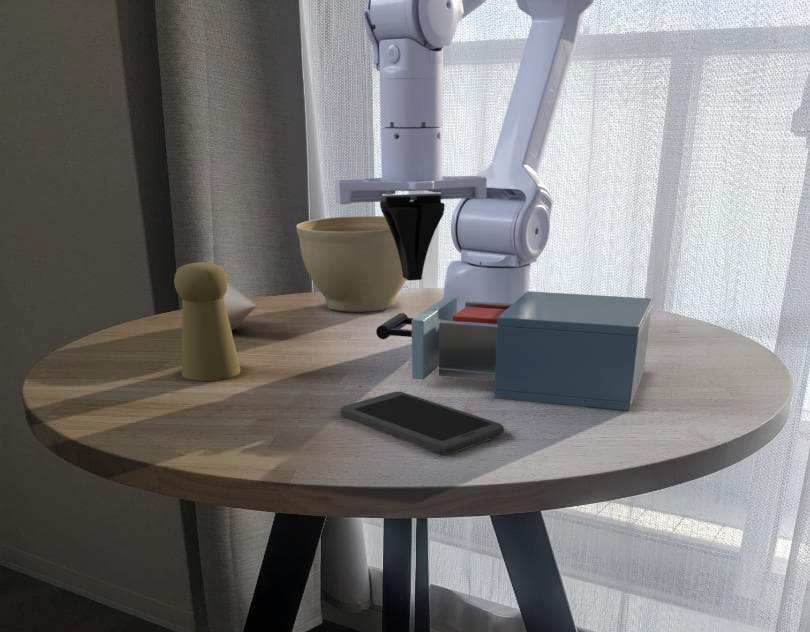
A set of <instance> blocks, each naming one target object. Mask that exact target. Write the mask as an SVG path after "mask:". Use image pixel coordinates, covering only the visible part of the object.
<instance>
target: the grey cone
mask: <svg viewBox="0 0 810 632" xmlns="http://www.w3.org/2000/svg"><path fill="white" fill-rule="evenodd" d="M224 301H225V305H226V310H227V314H228V318H229V323H230V327H231V331H233V330H235V329H236V328H238V327H239V325H240V324H241V323H243V321H244V320H245V319H246V318H247V317H248V316H249V315H250V314H251V313H252V312H253V310H254V309H256V308H257V304H255V302H253V301H252V300H251V299H250V298H249V297H248V296H246V295H245V293H243V292H242V291H241V290H240V289H238V288H237V287H236V286H235V285H234V284H232V283H231V282H229V281H228V286H227V291H226V293H225V295H224Z"/></svg>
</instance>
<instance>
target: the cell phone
mask: <svg viewBox="0 0 810 632" xmlns="http://www.w3.org/2000/svg"><path fill="white" fill-rule="evenodd" d="M339 411H340V416H342V417H343V418H345V419H347V420H351V421H353V422H356V423H358V424H361V425H364V426H366V427H369V428H371V429H374V430H377V431H379V432H383V433H385V434H387V435H390V436H393V437H396V438H398V439H401V440H403V441H406V442H409V443H411V444H414V445H416V446H419V447H422V448H425V449H427V450H430V451H433V452H435V453H438V454H452V453H455V452H459V451H461V450H463V449H466V448H469V447H472V446H474V445H475V446H476V445H478V444H481V443H485V442H486V441H489V440H493V439H495V438H497V437H500V436H502V435H503V434H504V432H505V427H504V425H503V424H501V423H500V422H497V421H493V420H491V419H487V418H485V417H481V416H478V415H475V414H472V413H469V412H465V411H463V410H459V409H457V408H454V407H451V406H447V405H445V404H441V403H437V402H435V401H432V400H428V399H426V398H422V397H419V396H416V395H413V394H410V393H407V392H404V391H392V392H388V393H385V394H384V393H383V394H381V395H378V396H374V397H371V398H367V399H364V400H360V401H357V402H353V403H348V404H346V405H342V406H341V407H340V408H339Z"/></svg>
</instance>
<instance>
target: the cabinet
mask: <svg viewBox="0 0 810 632" xmlns="http://www.w3.org/2000/svg"><path fill="white" fill-rule="evenodd" d="M652 305H653V298H648V297H632V296H618V295H617V296H615V295H601V294H600V295H599V294H597V295H596V294H583V293H582V294H581V293H566V292H565V293H564V292H547V291H530V290H529V291H527V292H526V293H525V294H524V295H522V296H521V297H520V298H519V299H518V300H517V301H516V302H515V303H513V304H512V305H511V306H510V307H509V308H508V309H507V310H506V311H504V312H503V313H502V314H501V315H500V316H499V317H498V318H497V341H496V367H495V381H494V399H495V398H496V399H505V400H515V401H516V400H517V401H525V402H535V403H547V404H558V405H566V406H567V405H568V406H577V407H587V408H598V409H607V410H619V411H630V410H631V407H632V405H633V403H634V399H635V397H636V394H637V391H638V389H639V386H640V384H641V381H642V378H643V376H644V373H645V364H646V357H647V347H648V339H649V330H650V322H651V313H652Z"/></svg>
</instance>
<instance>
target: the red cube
mask: <svg viewBox="0 0 810 632" xmlns="http://www.w3.org/2000/svg"><path fill="white" fill-rule="evenodd" d="M506 310H507V309H493V308H477V307H465V308H463V309H462V310H461V311H459V312H458V313H457V314H455V315H454V316H453V321H459V322H473V323H487V324H497V318H498V317H499V316H500V315H501V314H502V313H503V312H504V311H506Z"/></svg>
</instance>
